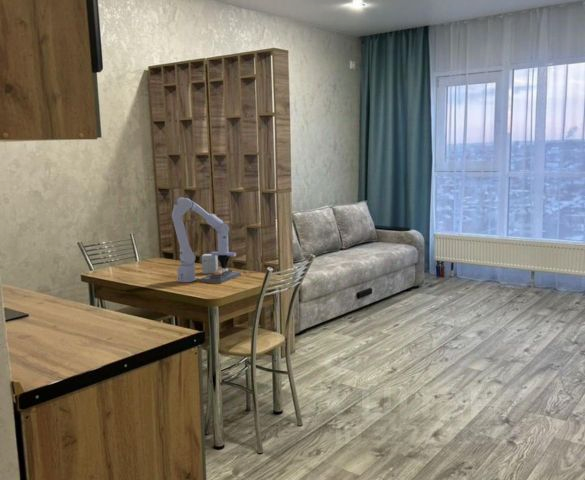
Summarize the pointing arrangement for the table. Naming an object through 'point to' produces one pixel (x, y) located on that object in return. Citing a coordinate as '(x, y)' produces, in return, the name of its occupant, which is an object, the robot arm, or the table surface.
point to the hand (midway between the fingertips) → (224, 268)
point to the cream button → (221, 270)
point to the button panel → (221, 277)
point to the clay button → (217, 273)
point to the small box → (209, 263)
